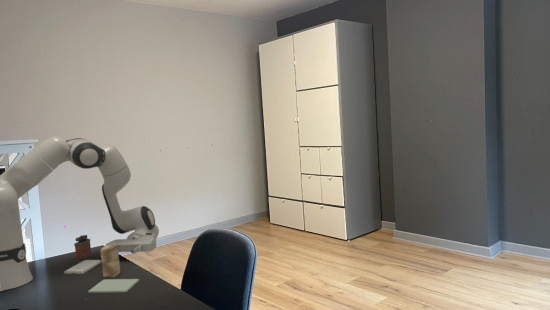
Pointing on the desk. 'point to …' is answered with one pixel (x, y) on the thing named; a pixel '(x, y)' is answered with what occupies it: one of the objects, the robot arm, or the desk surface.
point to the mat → (113, 285)
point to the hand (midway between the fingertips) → (121, 251)
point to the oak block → (110, 261)
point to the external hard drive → (83, 266)
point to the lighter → (82, 248)
